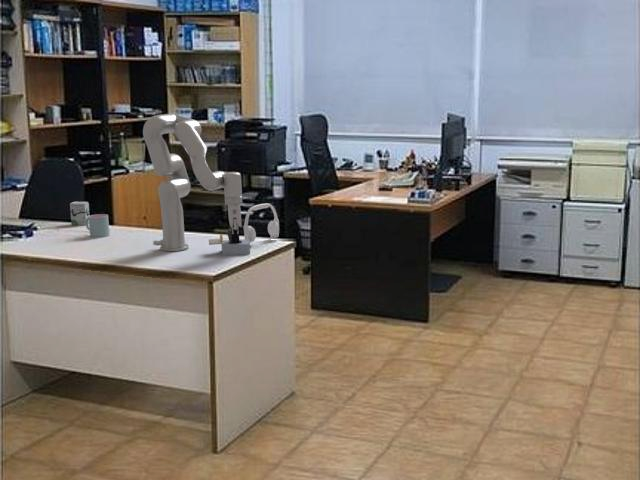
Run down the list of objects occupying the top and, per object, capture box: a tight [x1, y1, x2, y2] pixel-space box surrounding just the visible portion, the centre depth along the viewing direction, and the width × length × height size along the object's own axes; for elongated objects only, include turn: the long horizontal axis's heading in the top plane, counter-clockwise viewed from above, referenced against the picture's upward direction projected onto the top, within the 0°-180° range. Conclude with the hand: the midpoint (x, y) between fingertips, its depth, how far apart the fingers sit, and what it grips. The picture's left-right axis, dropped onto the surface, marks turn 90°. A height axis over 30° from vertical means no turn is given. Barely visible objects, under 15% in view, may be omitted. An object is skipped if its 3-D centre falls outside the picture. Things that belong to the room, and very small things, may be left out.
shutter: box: [208, 233, 224, 246], centre depth 361 cm, size 6×8×3 cm
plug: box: [226, 227, 236, 244], centre depth 362 cm, size 4×4×9 cm
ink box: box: [69, 201, 90, 226], centre depth 437 cm, size 9×5×12 cm, turn 81°
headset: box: [243, 202, 280, 244], centre depth 382 cm, size 20×7×18 cm, turn 137°
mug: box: [85, 213, 110, 239], centre depth 406 cm, size 14×9×10 cm
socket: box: [221, 238, 251, 256], centre depth 363 cm, size 12×10×4 cm
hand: (235, 241), depth 362 cm, fingers closed on plug, 4 cm apart
